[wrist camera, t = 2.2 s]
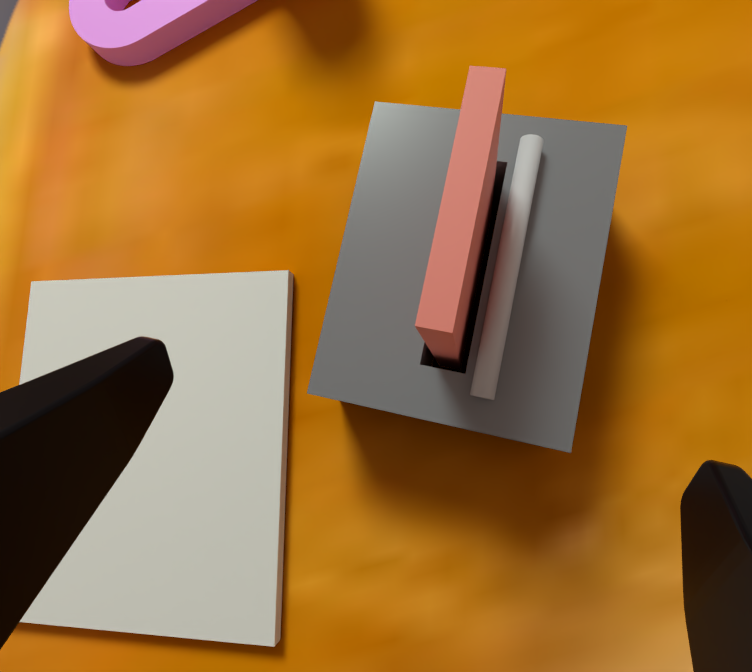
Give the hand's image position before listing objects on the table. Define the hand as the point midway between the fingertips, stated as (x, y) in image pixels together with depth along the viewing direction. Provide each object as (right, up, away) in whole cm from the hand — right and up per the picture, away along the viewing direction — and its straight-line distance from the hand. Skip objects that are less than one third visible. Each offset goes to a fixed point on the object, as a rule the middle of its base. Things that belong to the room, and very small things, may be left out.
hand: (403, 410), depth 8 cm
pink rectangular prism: (+3, +3, +11) cm, 12 cm away
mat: (-10, -3, +13) cm, 16 cm away
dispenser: (+3, +3, +11) cm, 12 cm away
